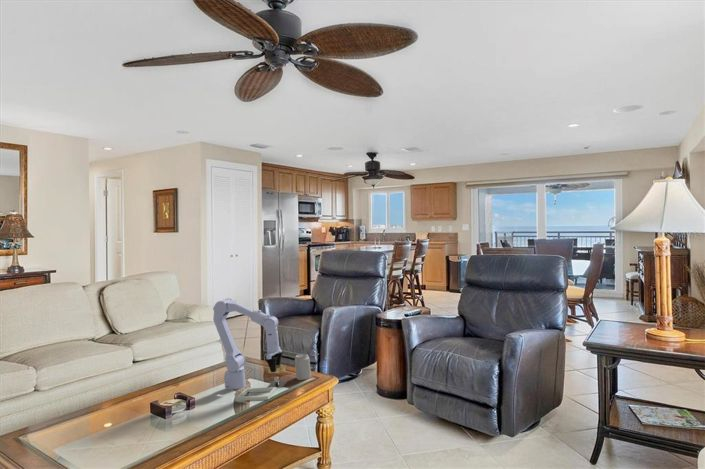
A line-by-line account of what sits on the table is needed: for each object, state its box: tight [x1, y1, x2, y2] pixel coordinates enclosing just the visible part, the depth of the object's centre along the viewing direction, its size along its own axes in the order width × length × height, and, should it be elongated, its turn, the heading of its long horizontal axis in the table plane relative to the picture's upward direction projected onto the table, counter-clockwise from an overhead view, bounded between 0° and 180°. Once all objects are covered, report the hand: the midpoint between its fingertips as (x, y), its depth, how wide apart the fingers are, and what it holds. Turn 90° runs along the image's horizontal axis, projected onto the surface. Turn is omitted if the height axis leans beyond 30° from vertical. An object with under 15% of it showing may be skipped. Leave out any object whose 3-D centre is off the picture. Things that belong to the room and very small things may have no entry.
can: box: [294, 353, 312, 381], centre depth 214 cm, size 8×8×12 cm
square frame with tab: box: [267, 364, 287, 374], centre depth 207 cm, size 8×5×2 cm
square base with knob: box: [266, 376, 288, 389], centre depth 207 cm, size 8×8×4 cm
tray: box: [235, 387, 278, 403], centre depth 195 cm, size 15×11×2 cm
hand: (275, 369), depth 207 cm, fingers closed on square frame with tab, 5 cm apart
